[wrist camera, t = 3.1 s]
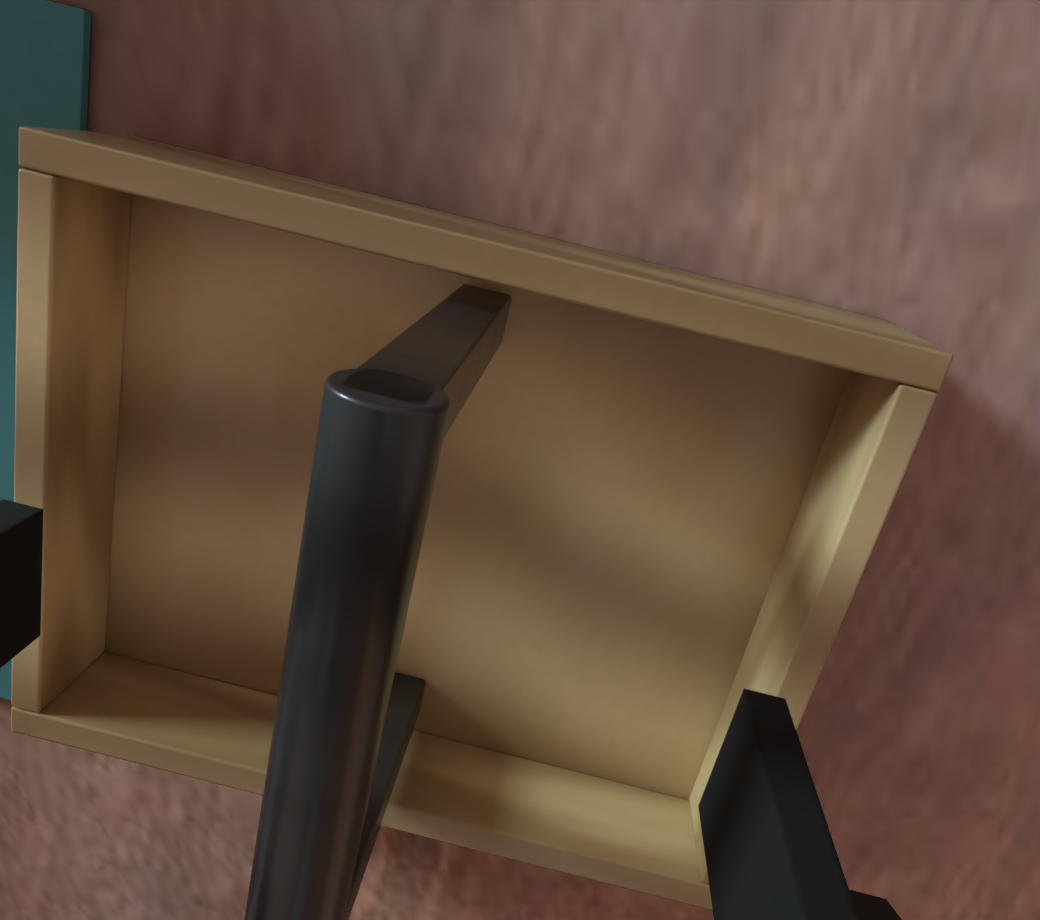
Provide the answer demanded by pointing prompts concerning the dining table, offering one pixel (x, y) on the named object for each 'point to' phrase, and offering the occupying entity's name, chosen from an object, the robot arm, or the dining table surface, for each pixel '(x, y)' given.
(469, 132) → the dining table surface
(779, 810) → the robot arm
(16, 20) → the mat
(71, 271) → the tray
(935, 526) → the dining table surface
